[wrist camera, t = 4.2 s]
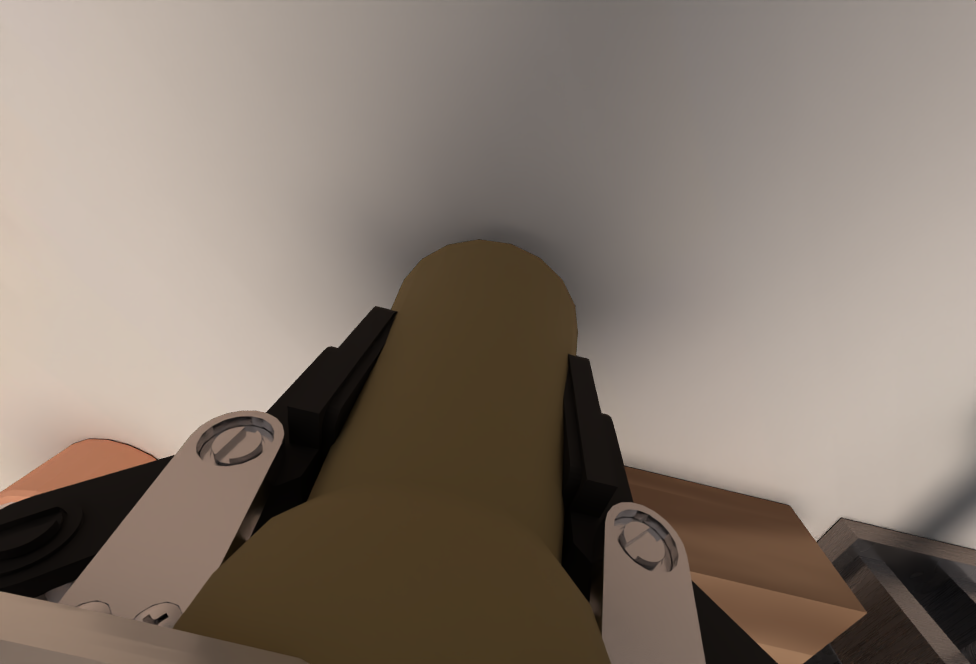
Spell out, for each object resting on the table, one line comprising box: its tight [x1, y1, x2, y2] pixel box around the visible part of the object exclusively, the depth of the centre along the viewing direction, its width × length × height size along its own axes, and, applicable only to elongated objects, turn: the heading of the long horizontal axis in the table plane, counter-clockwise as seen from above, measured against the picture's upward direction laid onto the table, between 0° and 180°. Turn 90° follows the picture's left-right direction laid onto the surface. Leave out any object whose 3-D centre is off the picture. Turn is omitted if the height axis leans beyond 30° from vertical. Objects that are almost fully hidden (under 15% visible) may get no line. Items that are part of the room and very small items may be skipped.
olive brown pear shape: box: [172, 239, 611, 664], centre depth 8 cm, size 6×6×11 cm
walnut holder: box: [624, 466, 867, 664], centre depth 19 cm, size 14×14×4 cm
